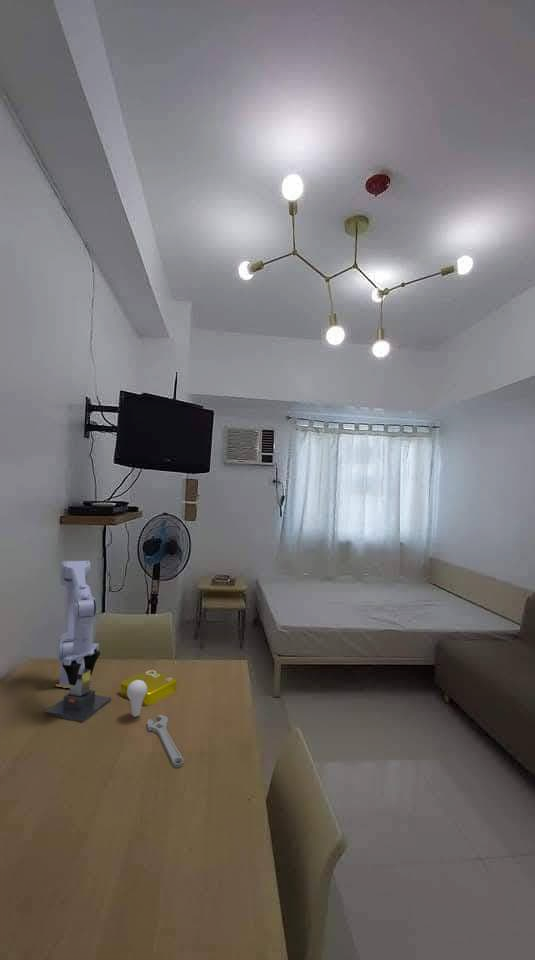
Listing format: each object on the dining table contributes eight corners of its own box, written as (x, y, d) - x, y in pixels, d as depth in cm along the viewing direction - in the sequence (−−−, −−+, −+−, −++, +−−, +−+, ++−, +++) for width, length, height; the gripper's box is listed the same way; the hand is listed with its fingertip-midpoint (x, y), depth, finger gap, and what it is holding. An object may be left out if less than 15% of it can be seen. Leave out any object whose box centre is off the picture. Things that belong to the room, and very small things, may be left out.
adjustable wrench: (184, 768, 107) (185, 761, 107) (159, 774, 104) (159, 767, 104) (165, 719, 130) (166, 713, 130) (144, 723, 127) (145, 717, 127)
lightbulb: (148, 712, 133) (150, 677, 133) (141, 722, 126) (143, 685, 127) (130, 710, 133) (132, 675, 134) (122, 720, 127) (124, 684, 128)
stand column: (78, 692, 136) (79, 668, 137) (90, 694, 135) (91, 669, 136) (69, 698, 132) (71, 673, 133) (81, 700, 131) (82, 675, 132)
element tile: (117, 695, 144) (118, 681, 144) (150, 679, 157) (150, 667, 157) (147, 708, 136) (147, 693, 136) (179, 691, 149) (179, 677, 149)
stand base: (75, 694, 142) (76, 679, 142) (111, 700, 139) (111, 686, 139) (44, 714, 129) (45, 698, 129) (82, 722, 125) (83, 705, 125)
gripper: (78, 646, 127) (75, 691, 126) (107, 631, 141) (105, 672, 140) (59, 643, 128) (56, 687, 128) (89, 629, 142) (87, 669, 142)
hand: (80, 679), depth 134 cm, fingers open, 7 cm apart
